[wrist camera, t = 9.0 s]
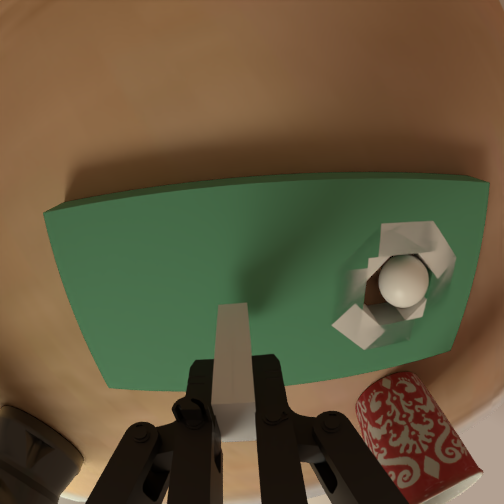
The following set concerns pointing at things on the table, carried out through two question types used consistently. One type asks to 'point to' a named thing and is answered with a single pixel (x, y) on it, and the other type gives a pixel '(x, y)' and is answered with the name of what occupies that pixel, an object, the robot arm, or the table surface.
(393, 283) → the ball
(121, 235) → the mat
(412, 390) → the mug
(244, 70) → the table surface
